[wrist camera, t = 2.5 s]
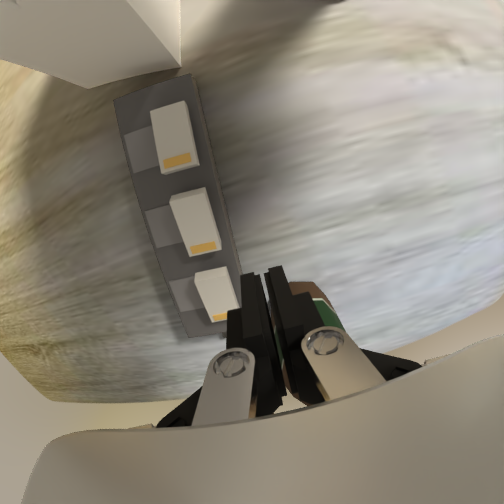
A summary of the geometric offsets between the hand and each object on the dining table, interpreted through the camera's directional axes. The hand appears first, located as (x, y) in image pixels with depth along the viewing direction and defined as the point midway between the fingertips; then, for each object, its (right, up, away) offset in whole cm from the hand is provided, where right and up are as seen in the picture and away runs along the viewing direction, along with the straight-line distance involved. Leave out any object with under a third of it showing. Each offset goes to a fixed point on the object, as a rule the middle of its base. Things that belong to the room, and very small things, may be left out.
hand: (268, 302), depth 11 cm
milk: (-14, +27, +11) cm, 33 cm away
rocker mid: (-6, +5, +15) cm, 17 cm away
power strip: (-7, +5, +20) cm, 22 cm away
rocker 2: (-4, -2, +18) cm, 19 cm away
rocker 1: (-8, +12, +12) cm, 19 cm away
